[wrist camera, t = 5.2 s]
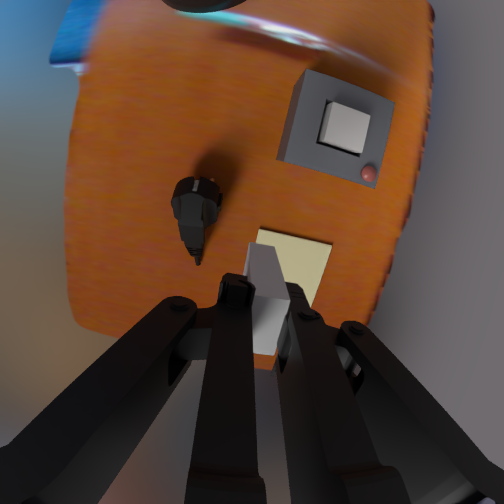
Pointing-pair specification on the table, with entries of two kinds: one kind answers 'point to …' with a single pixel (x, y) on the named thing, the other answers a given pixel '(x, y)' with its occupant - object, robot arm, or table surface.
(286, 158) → the switch box
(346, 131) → the button
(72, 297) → the table surface
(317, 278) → the pad
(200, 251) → the power plug
